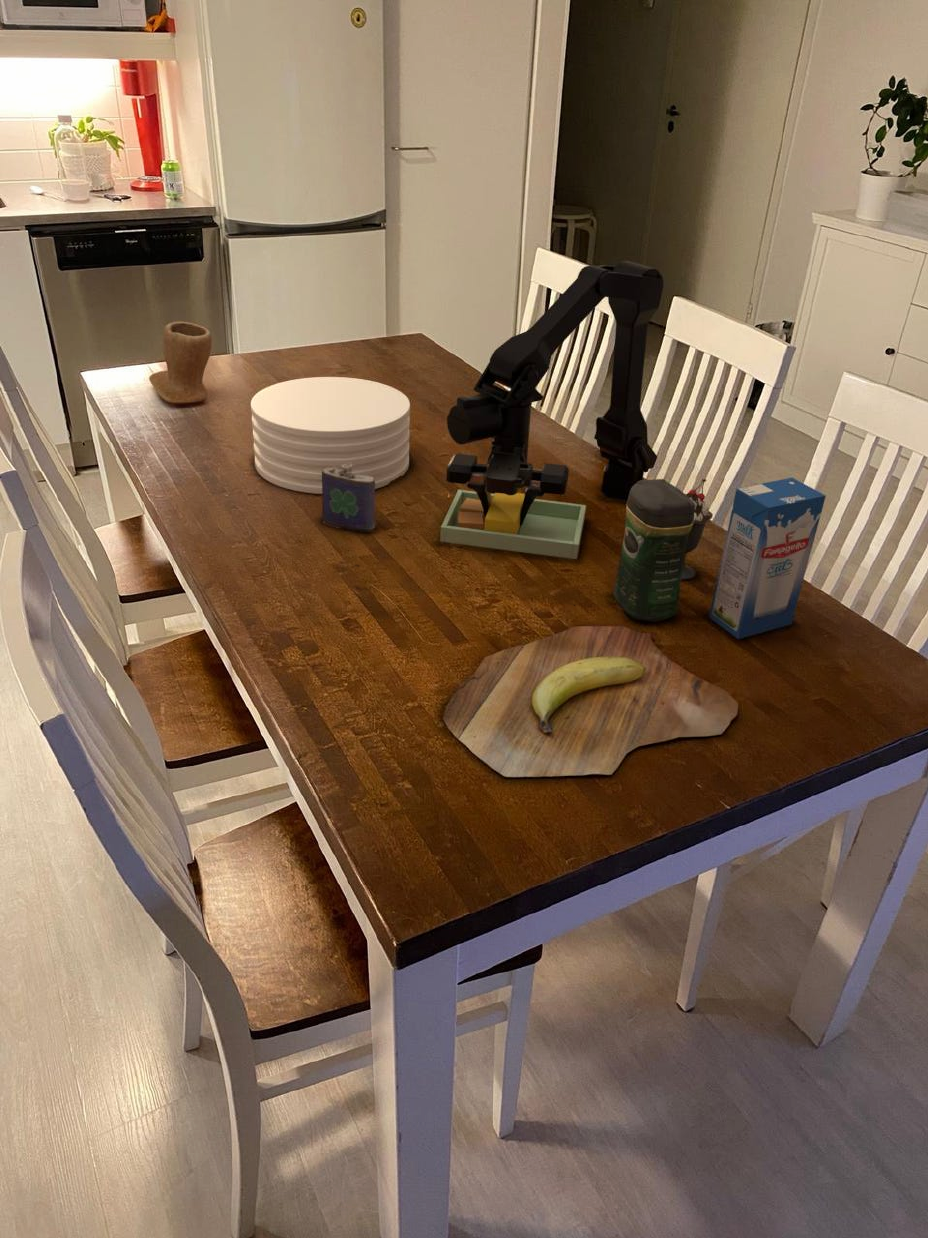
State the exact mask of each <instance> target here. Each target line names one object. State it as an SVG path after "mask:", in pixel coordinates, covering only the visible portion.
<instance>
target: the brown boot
mask: <svg viewBox="0 0 928 1238" xmlns="http://www.w3.org/2000/svg"><path fill="white" fill-rule="evenodd" d="M212 342H213V341H212V334H211V332H210V331H209V330H208V328H205V327H204V326H202V325H199V324H195V323H192V322H189V321H188V322H187V321H172V322H169V323H167V324H166V325H165V327H164V329H163V333H162V353H163V357H164V360H165V361H164V362H165V364H166V368H167V370H161V371H157V372H154V373H152V374H151V375H149V377H148V381H149V382H150V384H151V385H152V387H153V388H154V390H155V392H157V393H156V394H158V395H159V396H160V397H161V398H162V399H163V400H165V401H166V402H168V403H172V404H193V403H198V402H202V401H206V400H207V399H208V397H209V392H208V389H207V387H206V386H205V384H204V382H203V378H204V374H205V369H206V367H207V364H208V361H209V359H210V356H211V352H212Z"/></svg>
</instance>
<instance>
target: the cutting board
mask: <svg viewBox="0 0 928 1238" xmlns="http://www.w3.org/2000/svg"><path fill="white" fill-rule="evenodd" d="M651 636H652V633H651V632H640V631H638V630H635V629H633V628H629V627H627V626H624V625H583V626H582V625H581V626H570V627H569V628H568V629H565V630H562V631H560V632H557V633H556V634H553V635H550V636H547V637H544V638H540V639H538V640H535V641H531V642H528V643H523V644H519V645H516V646H512V647H509V648H506V649H502V650H499V651H497V652H495V653H493V654H490V655H489V654H488V655H487V656H484V658H483V659H482V661H481V662H480V664H479V665H478V667H477V668H476V670H475V672H474V673H473V674H472V675H471V676H469V677H468V678H467V679H466V680H464V681H463V682H461V684H460V685H458V687H457V688H456V690H455V692H454V693H453V694H452V696H451V698H450V699H449V701H448V703H447V705H446V706H445V708H444V713H443V718H442V719H443V722H444V724H445V725H446V727H447V729H448V730H449V731H450V732H451V734H452V735H453V736H454V737H455V738H456V739H457V740H459V741H460V742H461V743H462V744H463V745H465V746H466V748H468V750H469V751H470V752H471V753H472V754H474V755H475V756H476V757H477V758H479V759H480V761H482V762H484V763H485V764H486V765H487V766H489V767H490V768H491V769H492V770H494V771H496V772H497V773H499V774H500V775H501V776H503V777H505V778H525V777H526V778H531V777H532V778H540V777H565V776H567V777H568V776H571V777H572V776H588V775H606V776H609V775H610V776H611V775H613V773H614V772H615V771H616V770H617V769H618V767H619V766H620V764H621V763H622V761H623V760H624V758H625V757H626V756H627V754H628V753H630V752H632V751H633V750H635V749H636V748H638V747H641V746H646V745H647V746H648V745H651V744H658V743H663V742H667V741H670V740H674V739H677V738H693V737H695V738H696V737H697V738H698V737H715V736H720V735H723V733H724V732H725V731H726V729H727V728H728V727H729V726H730V724H731V721H732V720H733V719H735V718H736V717H737V715H738V712H739V711H738V710H739V703H738V701H737V700H735V698H734V697H732V695H731V694H730V693H728V691H727V690H725V689H723V688H722V687H719V686H717V685H715V684H713V683H711V682H708V681H707V680H705V679H703V678H701V677H700V676H697V675H696V674H693V673H692V672H690V671H688V670H687V669H685V668H684V667H682V666H680V665H679V664H677V663H676V662H674V661H673V660H671V659H670V658H668V657H667V656H666V655H665V654H664V653H663V652H662V650H661V649H660V648H658V646H656V645H655V644H654V642H653V641H652V637H651Z"/></svg>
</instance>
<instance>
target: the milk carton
mask: <svg viewBox="0 0 928 1238" xmlns="http://www.w3.org/2000/svg"><path fill="white" fill-rule="evenodd" d="M826 497H827V495H825V494H823V493H822V492H820V491H819V490H817V489H815V488H813V487H811V486H809V485H807V484H805V483H803V482H802V481H800V480H798V479H795V478H794V477H788V478H783V479H778V480H773V481H768V482H763V483H762V482H761V483H757V484H752V485H747V486H743V487H738V488H736V489H735V494H734V498H733V503H732V508H731V512H730V513H731V514H730V517H729V522H728V527H727V531H726V535H725V539H724V546H723V550H722V555H721V559H720V564H719V569H718V573H717V577H716V583H715V588H714V591H713V592H714V593H713V596H712V600H711V606H710V611H709V615H708V618H709V619H711V620H712V621H714V623H716V624H717V625H719V627H721V628H722V629H724V630H725V631H727V632H728V633H729V634H730V635H732V636H733V637H734V638H735V639H737V640H741V639H744V638H747V637H748V638H749V637H751V636H755V635H758V634H762V633H765V632H768V631H773V630H776V629H779V628H783V627H787V626H791V625H792V623H793V620H794V616H795V612H796V608H797V606H798V601H799V597H800V594H801V590H802V587H803V582H804V579H805V575H806V571H807V568H808V564H809V561H810V556H811V553H812V549H813V545H814V542H815V537H816V533H817V529H818V527H819V523H820V520H821V516H822V512H823V508H824V504H825V502H826V501H825V500H826Z"/></svg>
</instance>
